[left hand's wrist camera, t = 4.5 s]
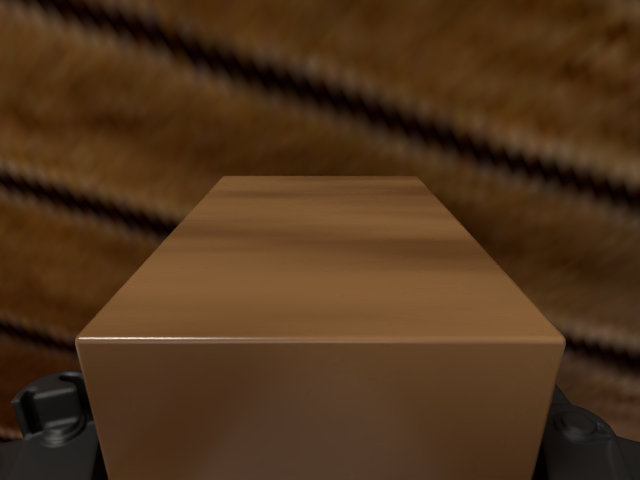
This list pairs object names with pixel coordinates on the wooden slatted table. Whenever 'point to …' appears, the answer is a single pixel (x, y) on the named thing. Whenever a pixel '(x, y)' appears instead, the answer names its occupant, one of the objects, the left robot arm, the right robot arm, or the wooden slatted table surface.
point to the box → (320, 343)
